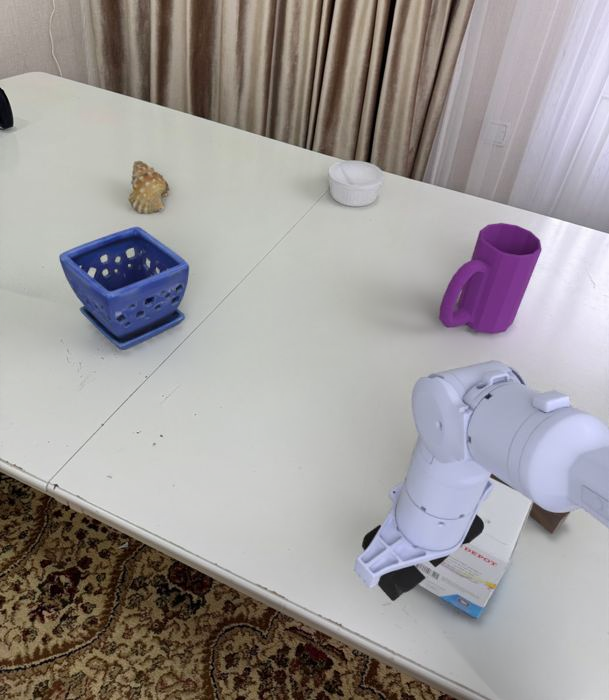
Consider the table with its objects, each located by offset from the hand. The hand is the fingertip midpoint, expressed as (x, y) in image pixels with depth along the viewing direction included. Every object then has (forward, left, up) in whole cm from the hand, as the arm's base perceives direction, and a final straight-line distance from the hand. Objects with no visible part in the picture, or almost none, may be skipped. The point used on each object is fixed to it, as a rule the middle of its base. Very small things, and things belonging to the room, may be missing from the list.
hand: (409, 573), depth 57 cm
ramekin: (+68, -54, -10) cm, 88 cm away
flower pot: (+56, +1, -10) cm, 57 cm away
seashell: (+88, -18, -10) cm, 90 cm away
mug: (+27, -43, -10) cm, 52 cm away
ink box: (0, -9, -10) cm, 14 cm away
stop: (+2, -23, -9) cm, 25 cm away
